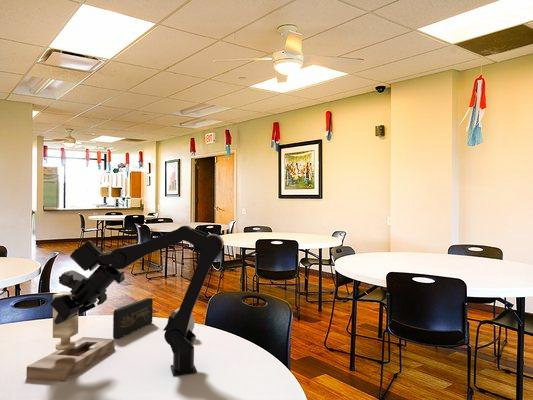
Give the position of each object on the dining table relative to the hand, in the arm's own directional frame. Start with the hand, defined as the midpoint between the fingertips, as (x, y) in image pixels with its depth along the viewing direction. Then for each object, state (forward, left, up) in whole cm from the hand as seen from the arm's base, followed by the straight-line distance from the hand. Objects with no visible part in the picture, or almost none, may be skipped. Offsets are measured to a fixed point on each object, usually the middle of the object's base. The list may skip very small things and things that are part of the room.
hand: (61, 320), depth 112 cm
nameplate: (+30, -20, -14) cm, 38 cm away
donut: (+18, -36, -13) cm, 43 cm away
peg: (-1, -1, -7) cm, 7 cm away
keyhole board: (+4, -3, -13) cm, 14 cm away
